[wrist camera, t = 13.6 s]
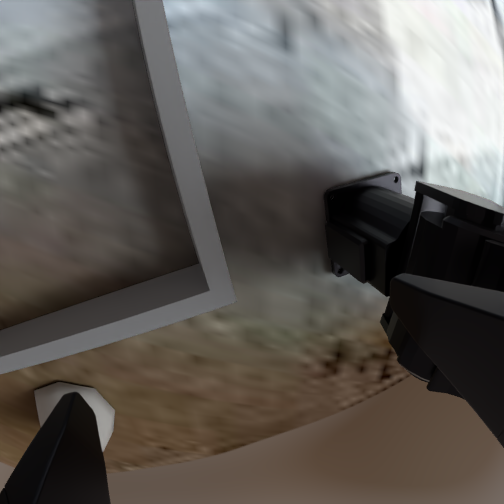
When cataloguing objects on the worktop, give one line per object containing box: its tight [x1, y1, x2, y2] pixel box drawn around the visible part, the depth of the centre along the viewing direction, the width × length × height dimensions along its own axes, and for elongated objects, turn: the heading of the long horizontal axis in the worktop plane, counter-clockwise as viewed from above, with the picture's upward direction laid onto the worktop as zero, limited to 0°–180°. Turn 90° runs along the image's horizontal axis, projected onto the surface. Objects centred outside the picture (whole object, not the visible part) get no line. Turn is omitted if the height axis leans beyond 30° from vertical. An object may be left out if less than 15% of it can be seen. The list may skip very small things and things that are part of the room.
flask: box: [34, 382, 115, 452], centre depth 17 cm, size 7×7×10 cm
